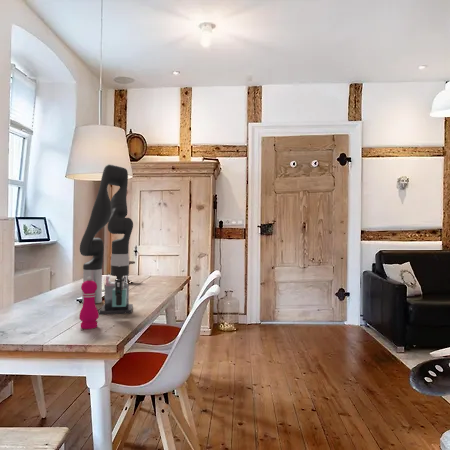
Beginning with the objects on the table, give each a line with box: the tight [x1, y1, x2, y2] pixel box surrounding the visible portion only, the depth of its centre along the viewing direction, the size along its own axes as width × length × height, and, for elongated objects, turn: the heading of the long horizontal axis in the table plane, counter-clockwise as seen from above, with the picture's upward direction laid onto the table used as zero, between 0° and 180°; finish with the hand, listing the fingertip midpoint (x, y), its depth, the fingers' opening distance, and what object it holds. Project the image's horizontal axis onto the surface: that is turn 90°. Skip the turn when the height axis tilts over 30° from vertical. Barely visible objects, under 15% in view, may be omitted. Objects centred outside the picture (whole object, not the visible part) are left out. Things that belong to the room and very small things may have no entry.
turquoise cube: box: [112, 288, 127, 307], centre depth 177 cm, size 6×5×7 cm
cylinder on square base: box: [98, 274, 134, 315], centre depth 195 cm, size 14×14×16 cm
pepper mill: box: [79, 276, 100, 330], centre depth 164 cm, size 7×7×20 cm
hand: (119, 303), depth 177 cm, fingers closed on turquoise cube, 5 cm apart
